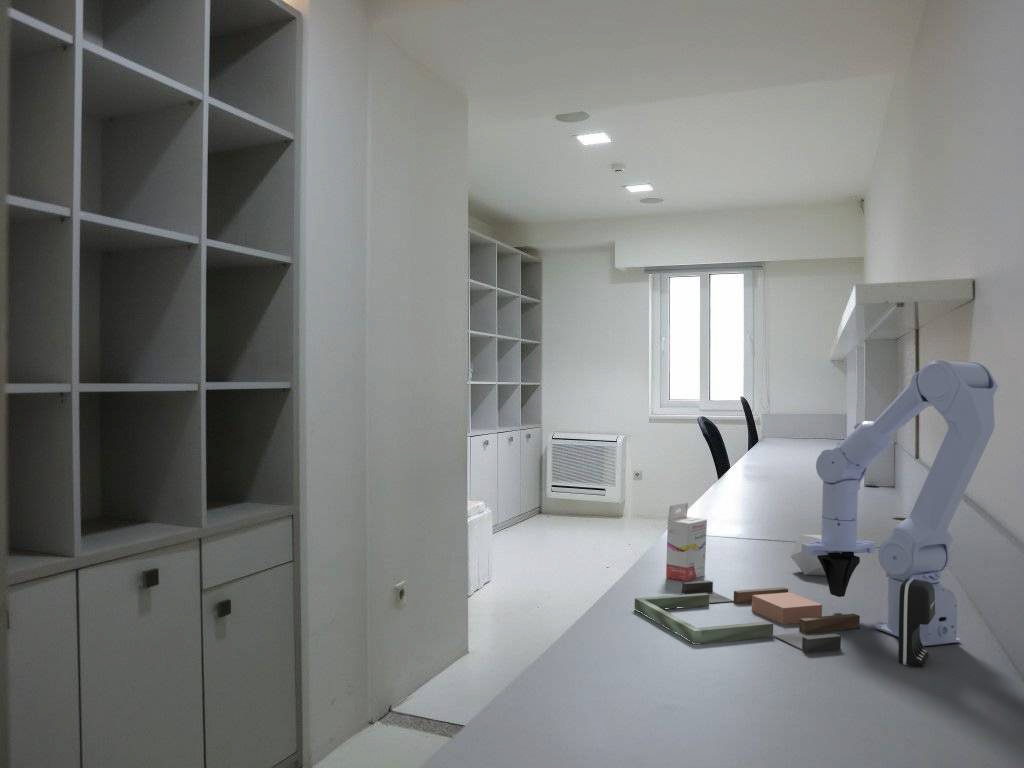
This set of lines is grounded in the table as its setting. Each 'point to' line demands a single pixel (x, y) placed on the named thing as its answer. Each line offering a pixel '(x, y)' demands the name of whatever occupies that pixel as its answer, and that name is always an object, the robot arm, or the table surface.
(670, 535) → the ink cartridge box
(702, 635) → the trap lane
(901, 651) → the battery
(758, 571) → the table surface
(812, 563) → the die
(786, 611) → the brick block
